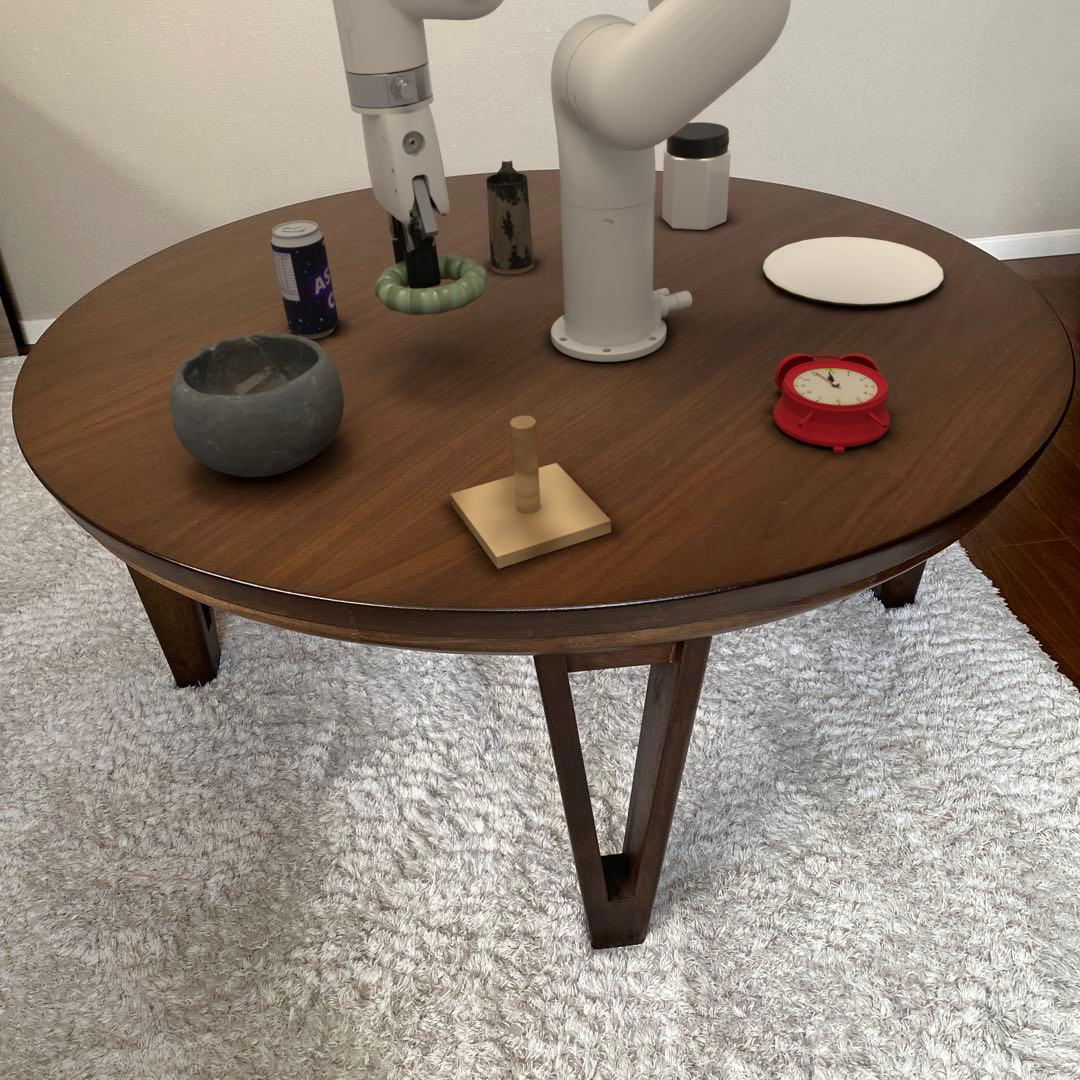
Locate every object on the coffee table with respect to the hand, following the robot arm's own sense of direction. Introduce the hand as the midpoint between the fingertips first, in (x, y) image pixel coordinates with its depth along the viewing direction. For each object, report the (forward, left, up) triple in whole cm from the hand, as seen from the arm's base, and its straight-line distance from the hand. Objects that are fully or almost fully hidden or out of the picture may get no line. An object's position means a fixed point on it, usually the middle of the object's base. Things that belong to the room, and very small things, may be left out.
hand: (419, 279), depth 101 cm
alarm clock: (-29, +29, -10) cm, 42 cm away
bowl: (+20, +11, -10) cm, 24 cm away
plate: (-52, +4, -10) cm, 53 cm away
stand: (+3, +31, -9) cm, 33 cm away
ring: (0, +4, +1) cm, 4 cm away
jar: (-47, -23, -10) cm, 53 cm away
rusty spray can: (-19, -22, -10) cm, 31 cm away
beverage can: (+9, -15, -10) cm, 20 cm away
